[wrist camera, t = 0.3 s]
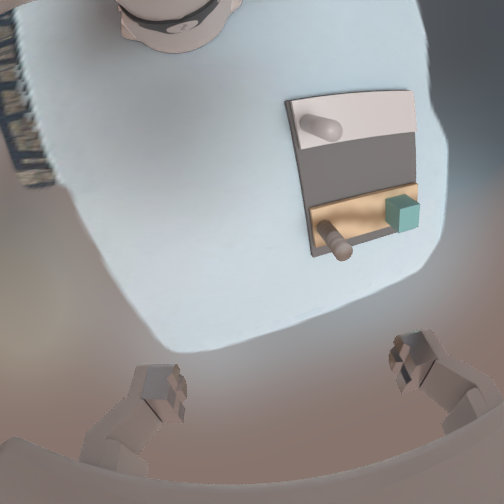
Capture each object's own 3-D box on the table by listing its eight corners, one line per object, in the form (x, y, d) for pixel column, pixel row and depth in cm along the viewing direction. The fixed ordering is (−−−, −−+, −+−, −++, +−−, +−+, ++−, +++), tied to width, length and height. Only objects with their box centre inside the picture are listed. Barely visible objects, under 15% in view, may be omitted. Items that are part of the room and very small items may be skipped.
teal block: (385, 198, 48) (399, 209, 44) (405, 193, 48) (419, 203, 44) (385, 221, 51) (398, 233, 46) (404, 215, 51) (418, 226, 46)
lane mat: (284, 101, 39) (286, 101, 38) (407, 90, 39) (410, 90, 38) (311, 254, 55) (312, 257, 54) (411, 224, 55) (413, 226, 54)
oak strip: (309, 207, 48) (330, 234, 40) (414, 182, 48) (446, 201, 39) (314, 245, 52) (333, 276, 44) (413, 216, 52) (441, 239, 44)
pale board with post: (289, 101, 38) (312, 103, 29) (410, 90, 38) (446, 95, 29) (299, 148, 42) (322, 163, 34) (413, 130, 42) (449, 142, 33)
